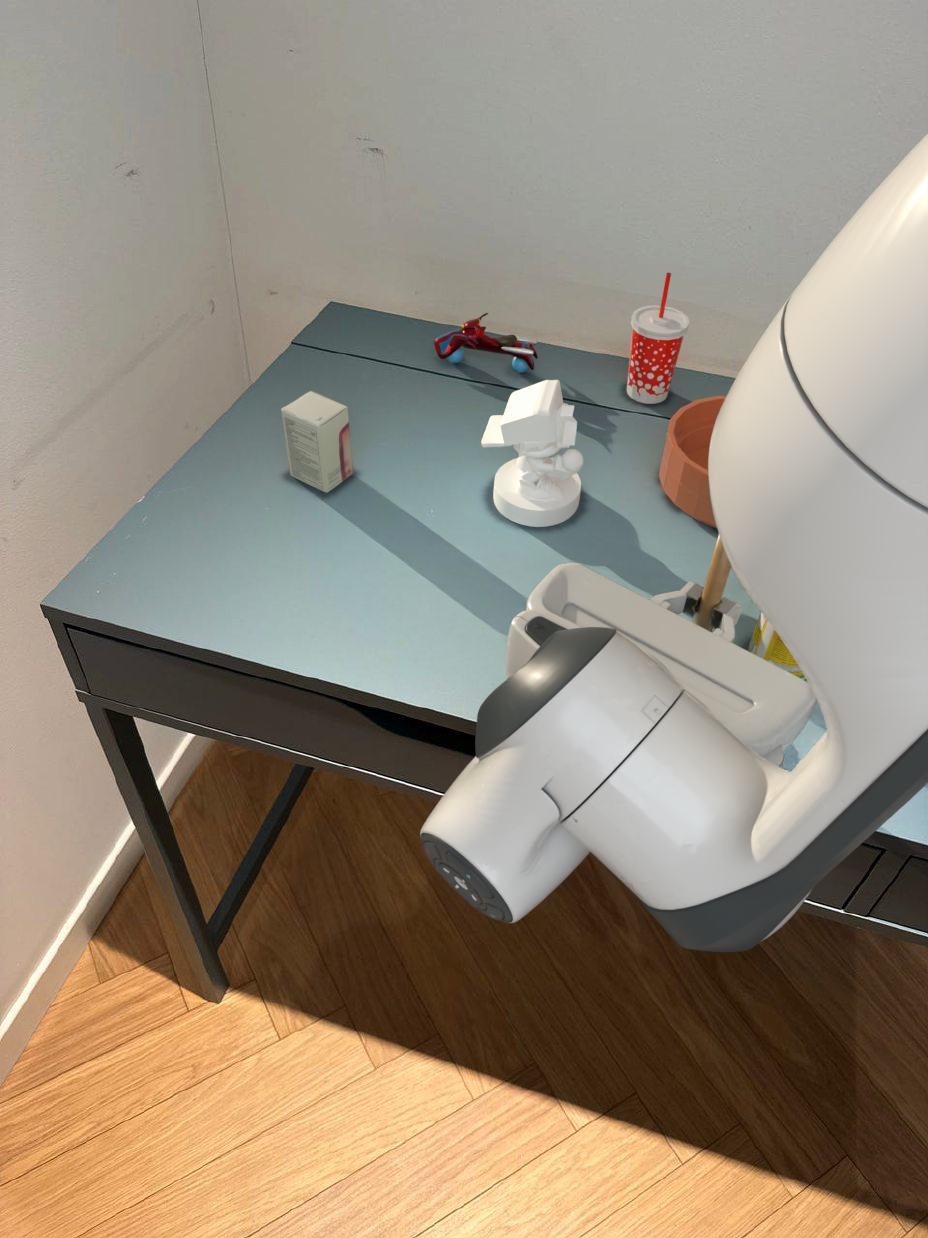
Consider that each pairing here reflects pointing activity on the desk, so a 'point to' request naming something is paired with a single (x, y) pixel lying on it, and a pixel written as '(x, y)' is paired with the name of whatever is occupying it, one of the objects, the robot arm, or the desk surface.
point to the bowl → (690, 458)
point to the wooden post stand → (713, 586)
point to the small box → (318, 441)
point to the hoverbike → (485, 345)
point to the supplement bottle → (772, 647)
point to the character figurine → (536, 457)
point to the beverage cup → (655, 349)
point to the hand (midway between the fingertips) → (714, 599)
